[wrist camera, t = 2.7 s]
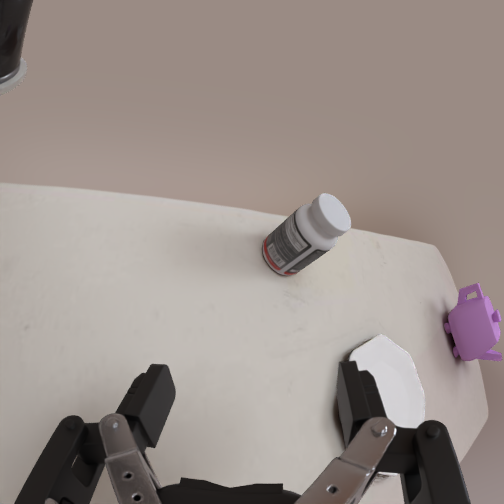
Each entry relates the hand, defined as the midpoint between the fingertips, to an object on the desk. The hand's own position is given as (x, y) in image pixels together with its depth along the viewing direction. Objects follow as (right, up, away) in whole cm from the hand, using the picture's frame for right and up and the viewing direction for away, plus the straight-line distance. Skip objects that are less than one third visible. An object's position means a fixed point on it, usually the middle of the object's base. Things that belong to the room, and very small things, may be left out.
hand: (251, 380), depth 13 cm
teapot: (+47, -14, +44) cm, 66 cm away
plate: (+18, -15, +22) cm, 32 cm away
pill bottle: (+3, +5, +25) cm, 25 cm away
